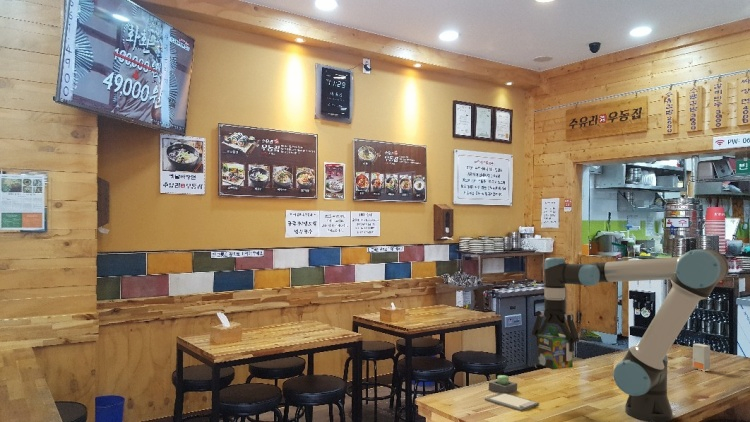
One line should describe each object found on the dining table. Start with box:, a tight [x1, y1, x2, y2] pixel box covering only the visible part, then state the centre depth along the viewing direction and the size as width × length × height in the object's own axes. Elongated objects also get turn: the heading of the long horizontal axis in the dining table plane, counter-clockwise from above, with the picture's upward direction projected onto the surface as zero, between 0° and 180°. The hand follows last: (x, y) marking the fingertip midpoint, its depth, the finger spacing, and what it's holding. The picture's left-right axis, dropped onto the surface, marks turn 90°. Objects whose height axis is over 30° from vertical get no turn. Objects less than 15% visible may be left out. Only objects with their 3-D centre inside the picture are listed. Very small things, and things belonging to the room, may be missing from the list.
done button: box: [496, 374, 510, 386], centre depth 224 cm, size 4×4×3 cm
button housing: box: [488, 379, 518, 394], centre depth 223 cm, size 8×8×3 cm
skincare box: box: [692, 342, 711, 370], centre depth 262 cm, size 6×4×12 cm
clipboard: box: [484, 393, 540, 412], centre depth 208 cm, size 16×12×1 cm
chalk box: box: [537, 325, 574, 370], centre depth 208 cm, size 9×9×15 cm
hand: (554, 357), depth 208 cm, fingers closed on chalk box, 11 cm apart
